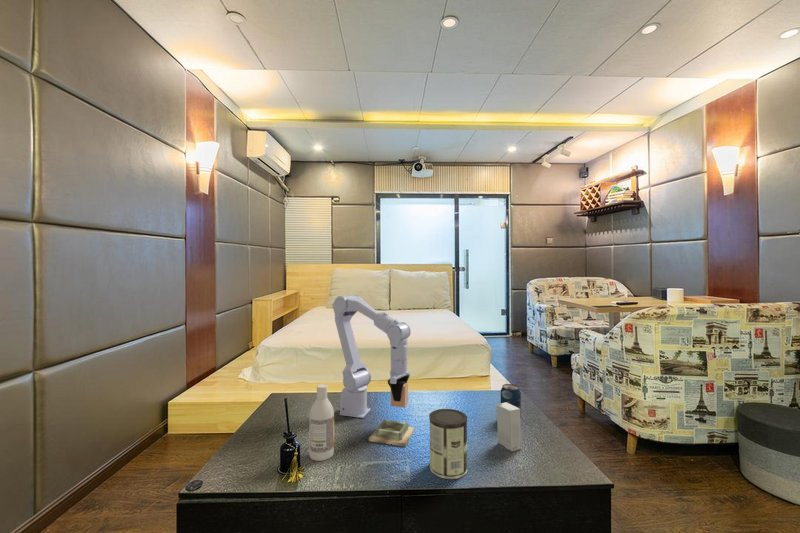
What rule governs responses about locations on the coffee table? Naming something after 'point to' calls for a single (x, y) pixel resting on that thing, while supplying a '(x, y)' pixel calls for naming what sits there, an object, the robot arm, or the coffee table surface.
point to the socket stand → (392, 433)
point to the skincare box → (509, 426)
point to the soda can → (511, 395)
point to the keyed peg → (404, 397)
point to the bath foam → (321, 427)
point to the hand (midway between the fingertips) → (398, 398)
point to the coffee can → (448, 443)
